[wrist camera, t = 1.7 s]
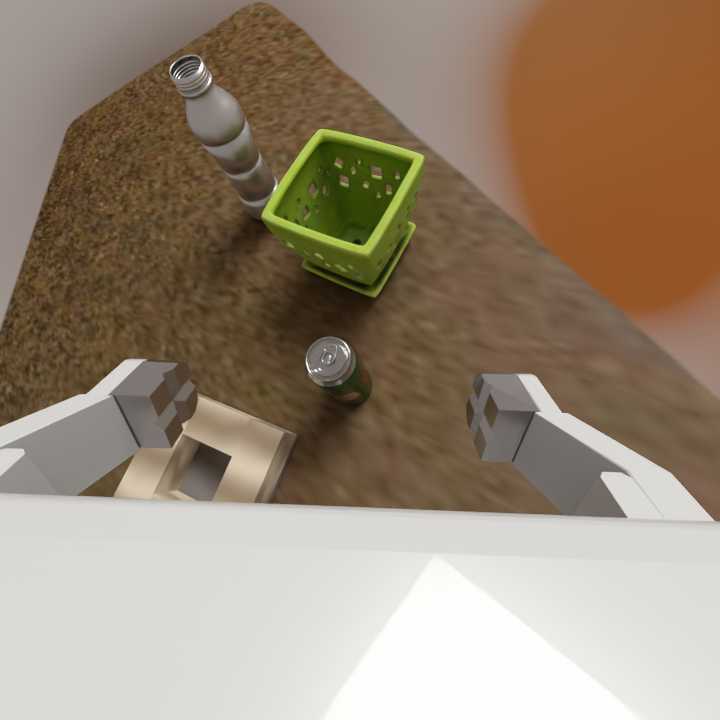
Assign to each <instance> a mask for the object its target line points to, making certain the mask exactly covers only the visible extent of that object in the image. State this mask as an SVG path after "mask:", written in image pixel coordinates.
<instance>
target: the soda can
mask: <svg viewBox="0 0 720 720" xmlns="http://www.w3.org/2000/svg"><path fill="white" fill-rule="evenodd" d="M305 369H306V372H307V375H308V377H309V378H310V379H311V380H312V382H314V383H315V384H316V385H318V386H319V387H320V388H322V389H323V390H325V391H326V392H327V393H329V394H330V395H331V396H333V397H334V398H336V399H337V400H338V401H340V402H341V403H343V404H346V405H356V404H359V403H361V402H363V401H364V400H365V399H366V398H367V397H368V396H369V394H370V392H371V388H372V380H371V377H370V375H369V373H368V371H367V370H366V368H365V366H364V365H363V363H362V361H361V360H360V358H359V356H358V354H357V353H356V351H355V349H354V348H353V346H352V345H351V344H350V343H349V342H348V341H346V340H345V339H343V338H340V337H331V336H329V337H323V338H320V339H318V340H317V341H315V342H314V343H313V344H312V345H311V346H310V347H309V349H308V351H307V353H306V358H305Z"/></svg>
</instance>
